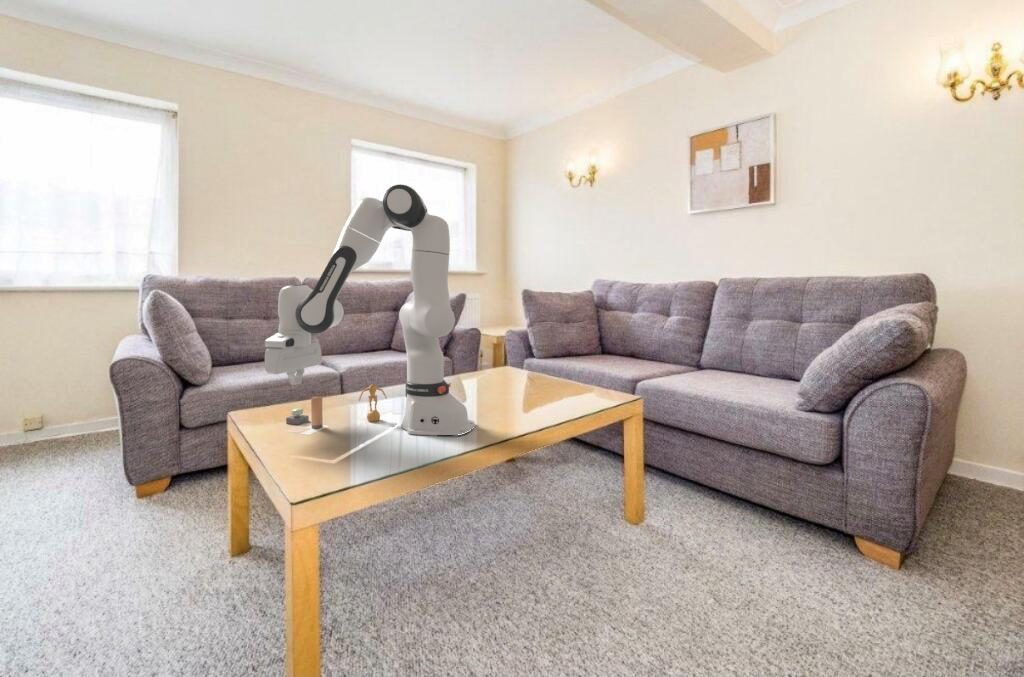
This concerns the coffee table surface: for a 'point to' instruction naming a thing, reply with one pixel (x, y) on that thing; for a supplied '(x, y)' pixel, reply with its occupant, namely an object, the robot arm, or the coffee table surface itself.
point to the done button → (297, 412)
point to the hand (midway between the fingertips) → (295, 383)
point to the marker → (316, 412)
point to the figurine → (373, 414)
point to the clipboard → (303, 428)
